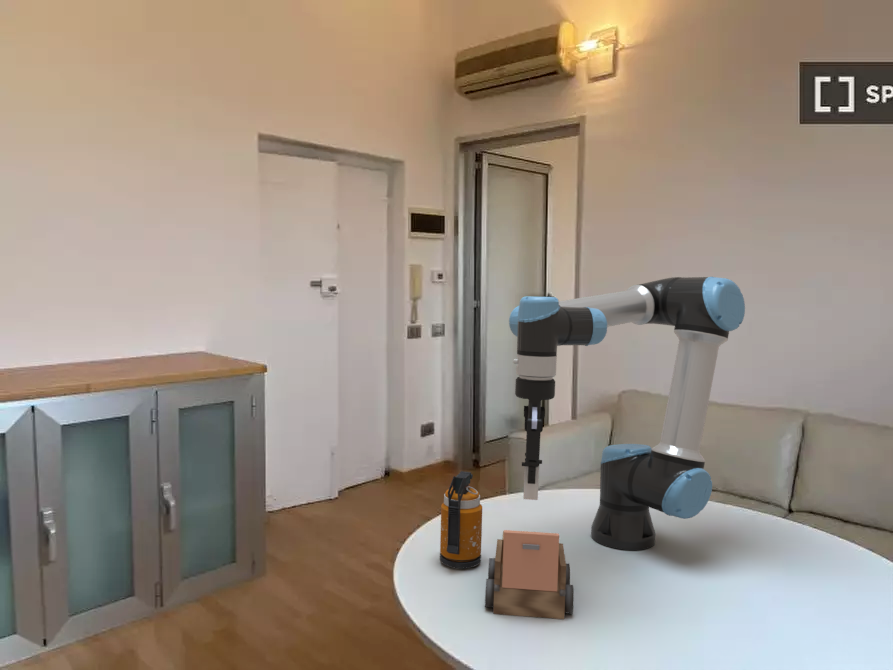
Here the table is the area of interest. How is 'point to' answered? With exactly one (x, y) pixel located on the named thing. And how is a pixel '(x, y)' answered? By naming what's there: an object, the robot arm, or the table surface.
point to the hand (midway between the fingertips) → (530, 498)
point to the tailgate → (530, 560)
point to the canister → (461, 524)
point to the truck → (528, 592)
